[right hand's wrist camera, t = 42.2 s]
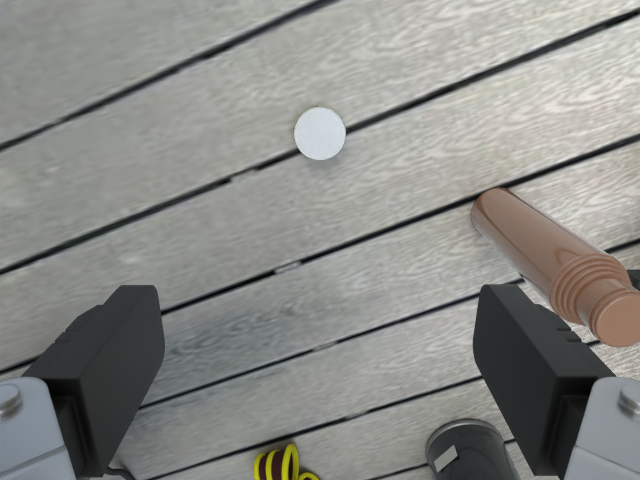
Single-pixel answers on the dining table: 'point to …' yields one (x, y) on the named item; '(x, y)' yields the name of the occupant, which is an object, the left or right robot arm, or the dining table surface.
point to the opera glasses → (280, 466)
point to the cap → (319, 133)
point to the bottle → (561, 266)
